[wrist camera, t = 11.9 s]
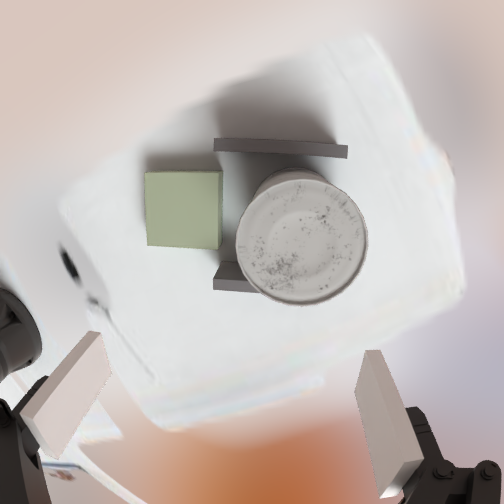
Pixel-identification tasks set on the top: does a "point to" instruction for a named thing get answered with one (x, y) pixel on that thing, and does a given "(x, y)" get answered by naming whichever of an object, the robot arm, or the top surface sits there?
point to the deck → (184, 209)
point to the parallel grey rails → (230, 272)
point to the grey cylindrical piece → (301, 239)
